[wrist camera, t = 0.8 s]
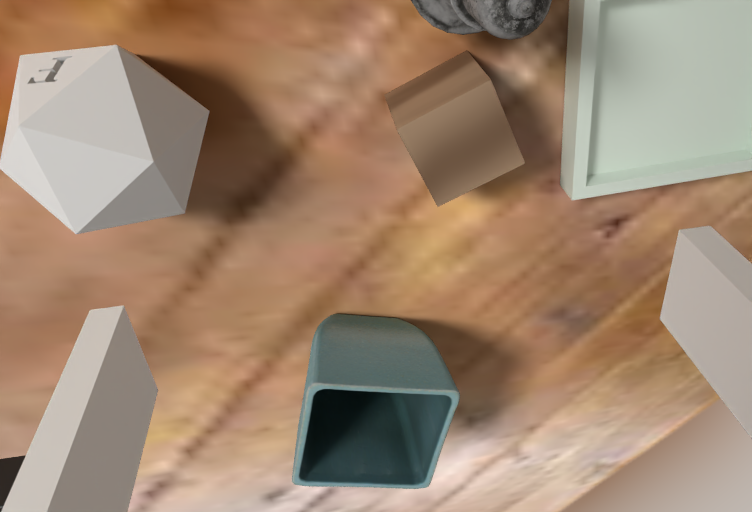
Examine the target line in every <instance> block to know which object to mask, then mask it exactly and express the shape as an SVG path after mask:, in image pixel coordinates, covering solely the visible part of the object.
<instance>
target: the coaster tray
mask: <svg viewBox="0 0 752 512" xmlns="http://www.w3.org/2000/svg"><path fill="white" fill-rule="evenodd" d="M747 171H752V0H569V17H568V37H567V56H566V76H565V96H564V116H563V136H562V156H561V176H560V186H561V187H562V188H563V189H564V191H565V192H566V193H567V195H568V196H569V197H570V199H571V200H578V199H584V198H590V197H596V196H602V195H608V194H614V193H620V192H626V191H632V190H638V189H644V188H650V187H656V186H662V185H668V184H674V183H680V182H686V181H692V180H698V179H704V178H710V177H716V176H722V175H729V174H735V173H741V172H747Z"/></svg>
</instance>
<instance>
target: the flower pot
mask: <svg viewBox="0 0 752 512" xmlns="http://www.w3.org/2000/svg"><path fill="white" fill-rule="evenodd" d="M459 399H460V393H459V391H458V389H457V387H456V385H455V383H454V381H453V379H452V377H451V375H450V373H449V370H448V368H447V367H446V365H445V362H444V360H443V358H442V356H441V355H440V353H439V351H438V349H437V347H436V346H435V344H434V343H433V341H432V340H431V339H430V338H429V337H428V336H427V335H426V334H425V333H424V332H423V331H422V330H420V329H419V328H417V327H416V326H414V325H412V324H410V323H408V322H406V321H403V320H401V319H398V318H387V317H370V316H358V315H346V314H333V315H331V316H329V317H328V318H326V319H325V320H324V321H323V322H322V323H321V324H320V325H319V326H318V328H317V330H316V332H315V335H314V338H313V341H312V346H311V353H310V359H309V366H308V372H307V378H306V384H305V390H304V396H303V402H302V408H301V413H300V419H299V425H298V433H297V442H296V450H295V457H294V466H293V475H292V482H293V483H294V484H295V485H302V486H309V487H310V486H317V487H319V486H320V487H327V486H330V487H332V486H333V487H334V486H337V487H342V486H343V487H374V488H375V487H379V488H403V489H419V488H426V487H428V486H429V485H430V483H431V480H432V477H433V474H434V471H435V468H436V465H437V461H438V458H439V456H440V452H441V449H442V446H443V444H444V441H445V438H446V435H447V432H448V429H449V426H450V424H451V421H452V418H453V416H454V413H455V410H456V407H457V406H458V403H459Z"/></svg>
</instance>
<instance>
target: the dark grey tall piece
mask: <svg viewBox="0 0 752 512" xmlns="http://www.w3.org/2000/svg"><path fill="white" fill-rule="evenodd" d="M411 1H412V3H413V4H414V6H415V7H416V9H417V10H418V12H419V13H420V15H421V16H422V17H423V18H424V19H426V20H427V21H428V22H429V23H430V24H431V25H433V26H434V27H436V28H439V29H441V30H443V31H445V32H447V33H455V34H462V35H464V34H472V33H479V32H481V31H488V32H489V33H490V34H491V35H494V36H496V37H498V38H503V39H518V38H521V37H524V36H526V35H528V34H530V33H531V32H533V31H534V30H535V29H537V28H538V26H539V25H540V24H541V23H542V22H543V21H544V19H545V17H546V15H547V13H548V11H549V8H550V5H551V1H552V0H411Z"/></svg>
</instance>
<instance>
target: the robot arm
mask: <svg viewBox="0 0 752 512" xmlns="http://www.w3.org/2000/svg"><path fill="white" fill-rule="evenodd" d="M660 320H661V321H662V323H663V324H664V325H665V326H666V328H667V329H668V330H669V332H670V333H671V334H672V336H673V337H674V338H675V339H676V341H677V342H678V343H679V345H680V346H681V347H682V349H683V350H684V351H685V353H686V354H687V355H688V356H689V358H690V359H691V360H692V362H693V363H694V364H695V366H696V367H697V368H698V369H699V371H700V372H701V373H702V375H703V376H704V377H705V379H706V380H707V381H708V383H709V384H710V385H711V386H712V388H713V389H714V390H715V392H716V393H717V394H718V396H719V397H720V398H721V399H722V401H723V402H724V403H725V405H726V406H727V407H728V409H729V410H730V411H731V413H732V414H733V415H734V416H735V418H736V419H737V420H738V422H739V423H740V424H741V425H742V427H743V428H744V429H745V431H746V432H747V433H748V435H749V436H750V437H751V439H752V264H751V263H750V262H749V261H748V260H747V259H746V258H745V257H744V256H743V255H742V254H740V253H739V252H738V251H737V250H736V249H735V248H734V247H733V246H732V245H731V244H730V243H729V242H727V241H726V240H725V239H724V238H723V237H722V236H721V235H720V234H719V233H718V232H717V231H716V230H714V229H713V228H712V227H711V226H704V227H697V228H690V229H682V230H679V233H678V237H677V242H676V246H675V251H674V256H673V260H672V265H671V269H670V274H669V279H668V283H667V288H666V292H665V297H664V302H663V306H662V311H661V315H660ZM157 392H158V389H157V386H156V384H155V381H154V379H153V376H152V374H151V371H150V369H149V366H148V364H147V362H146V359H145V357H144V354H143V352H142V349H141V347H140V344H139V342H138V339H137V337H136V334H135V332H134V330H133V327H132V325H131V322H130V320H129V317H128V315H127V312H126V310H125V307H124V306H117V307H109V308H102V309H95V310H90V311H89V314H88V316H87V318H86V321H85V323H84V325H83V327H82V330H81V332H80V334H79V336H78V339H77V341H76V343H75V345H74V348H73V350H72V352H71V355H70V357H69V359H68V361H67V364H66V366H65V368H64V370H63V373H62V375H61V377H60V379H59V382H58V384H57V386H56V388H55V391H54V393H53V395H52V398H51V400H50V402H49V404H48V407H47V409H46V411H45V413H44V416H43V418H42V420H41V422H40V425H39V427H38V429H37V432H36V434H35V436H34V438H33V441H32V443H31V445H30V447H29V450H28V452H27V454H26V456H19V457H12V458H5V459H0V512H127V511H128V507H129V503H130V499H131V495H132V491H133V487H134V484H135V480H136V476H137V472H138V468H139V464H140V460H141V456H142V452H143V448H144V444H145V440H146V436H147V432H148V428H149V424H150V420H151V416H152V412H153V408H154V404H155V400H156V396H157Z"/></svg>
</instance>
